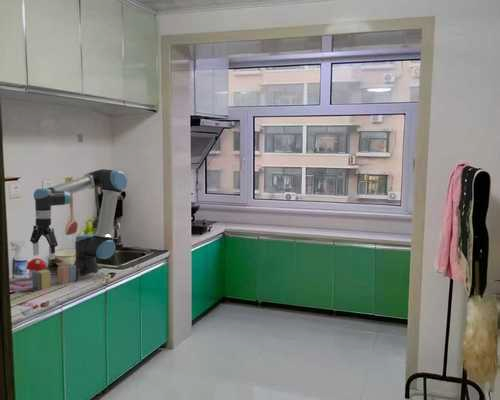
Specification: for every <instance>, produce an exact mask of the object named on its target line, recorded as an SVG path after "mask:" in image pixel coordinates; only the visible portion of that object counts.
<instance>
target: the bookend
mask: <svg viewBox="0 0 500 400" xmlns="http://www.w3.org/2000/svg"><path fill="white" fill-rule="evenodd" d="M31 283H32V284H31V285H32V286H31V287H30V288H28V289H27V291H31V292H38V291H40V290H41V289H40V273H36V272H32V282H31Z"/></svg>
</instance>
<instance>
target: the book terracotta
mask: <svg viewBox="0 0 500 400" xmlns="http://www.w3.org/2000/svg"><path fill="white" fill-rule="evenodd" d="M57 283H58V284H61V285H65V284H70V283H71V282H70V267H67V266H64V265H60V266H57Z"/></svg>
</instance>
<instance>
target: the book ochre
mask: <svg viewBox="0 0 500 400" xmlns="http://www.w3.org/2000/svg"><path fill="white" fill-rule="evenodd" d="M37 273H40V290H45V289H49V288H51V271H50V270H48V269H43V271H38V272H37Z"/></svg>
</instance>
